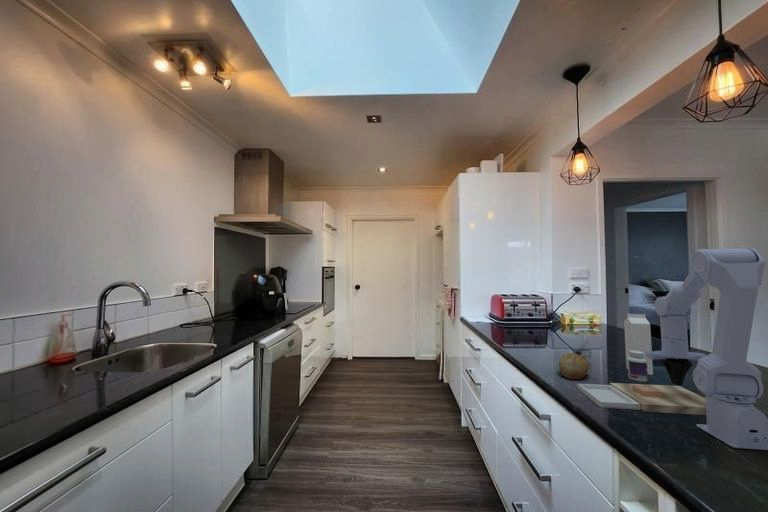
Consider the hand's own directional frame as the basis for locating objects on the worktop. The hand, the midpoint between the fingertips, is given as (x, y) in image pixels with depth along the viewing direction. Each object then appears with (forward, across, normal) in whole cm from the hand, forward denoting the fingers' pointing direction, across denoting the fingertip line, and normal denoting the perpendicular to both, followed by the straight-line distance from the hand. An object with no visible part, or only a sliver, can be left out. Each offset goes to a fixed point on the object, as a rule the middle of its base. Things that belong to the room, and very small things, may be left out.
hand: (676, 384), depth 88 cm
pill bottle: (+5, -1, -19) cm, 20 cm away
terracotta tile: (+3, +8, 0) cm, 9 cm away
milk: (+6, -7, -28) cm, 29 cm away
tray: (+5, +19, 0) cm, 20 cm away
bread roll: (+6, +19, -21) cm, 29 cm away
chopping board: (+5, +4, 0) cm, 6 cm away
